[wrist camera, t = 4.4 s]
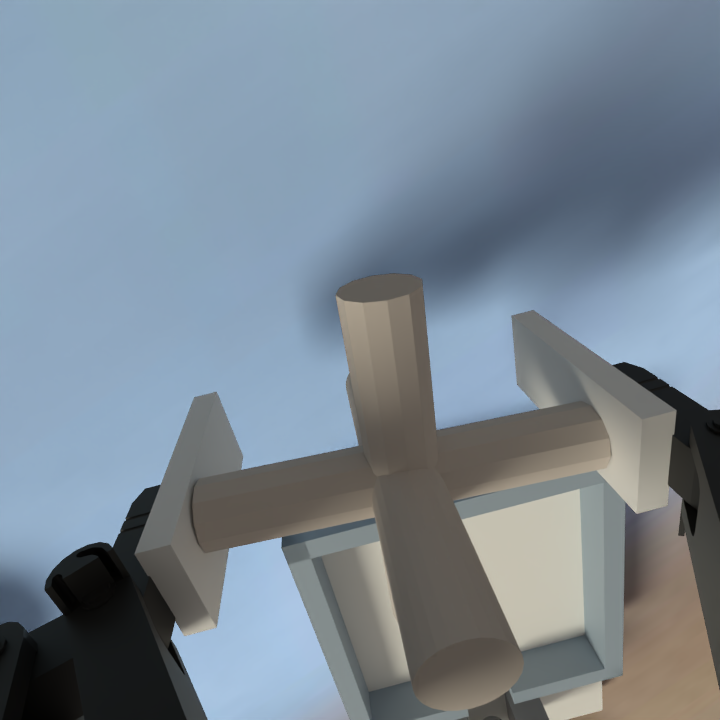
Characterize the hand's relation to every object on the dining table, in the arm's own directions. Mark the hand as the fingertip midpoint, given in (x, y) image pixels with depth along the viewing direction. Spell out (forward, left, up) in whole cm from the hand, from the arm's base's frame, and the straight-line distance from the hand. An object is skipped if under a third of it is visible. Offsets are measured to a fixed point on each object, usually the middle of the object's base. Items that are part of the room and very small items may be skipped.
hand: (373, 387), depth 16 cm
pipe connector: (0, 0, -1) cm, 1 cm away
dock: (+18, +2, -4) cm, 18 cm away
